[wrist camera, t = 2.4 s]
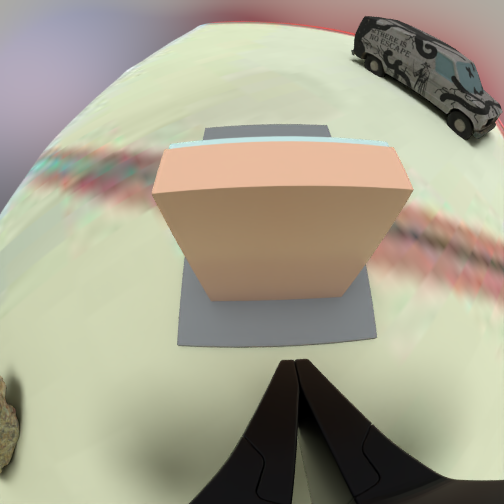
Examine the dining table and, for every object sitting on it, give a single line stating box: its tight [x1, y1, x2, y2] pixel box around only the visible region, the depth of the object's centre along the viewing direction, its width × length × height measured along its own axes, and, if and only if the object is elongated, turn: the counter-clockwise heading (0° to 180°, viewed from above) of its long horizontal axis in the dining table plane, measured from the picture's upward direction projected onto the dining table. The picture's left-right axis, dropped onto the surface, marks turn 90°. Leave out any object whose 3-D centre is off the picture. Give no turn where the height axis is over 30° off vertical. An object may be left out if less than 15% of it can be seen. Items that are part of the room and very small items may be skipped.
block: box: [152, 136, 414, 301], centre depth 12 cm, size 2×8×10 cm, turn 90°
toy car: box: [351, 16, 502, 139], centre depth 26 cm, size 11×25×10 cm, turn 30°
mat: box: [177, 124, 377, 347], centre depth 20 cm, size 20×12×1 cm, turn 0°
